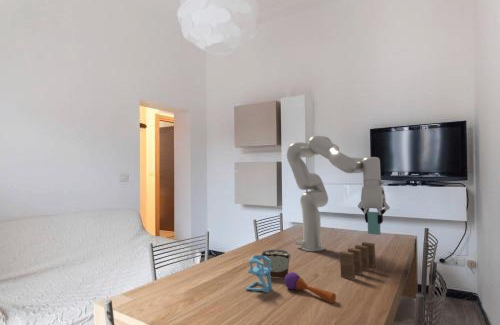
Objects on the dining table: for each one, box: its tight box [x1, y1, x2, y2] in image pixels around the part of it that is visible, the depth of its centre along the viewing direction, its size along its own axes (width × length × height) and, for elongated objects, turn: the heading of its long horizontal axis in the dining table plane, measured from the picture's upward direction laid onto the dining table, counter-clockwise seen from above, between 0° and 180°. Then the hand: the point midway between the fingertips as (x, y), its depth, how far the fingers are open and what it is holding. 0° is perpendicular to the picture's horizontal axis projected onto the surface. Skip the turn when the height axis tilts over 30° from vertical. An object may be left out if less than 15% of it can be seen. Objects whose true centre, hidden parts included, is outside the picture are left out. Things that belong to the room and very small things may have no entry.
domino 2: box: [347, 247, 363, 276], centre depth 122 cm, size 2×5×10 cm, turn 44°
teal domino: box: [367, 211, 382, 236], centre depth 136 cm, size 2×5×10 cm, turn 44°
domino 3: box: [354, 244, 370, 272], centre depth 127 cm, size 2×5×10 cm, turn 44°
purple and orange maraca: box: [283, 271, 337, 304], centre depth 103 cm, size 6×6×20 cm
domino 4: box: [361, 241, 377, 268], centre depth 131 cm, size 2×5×10 cm, turn 44°
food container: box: [261, 249, 292, 279], centre depth 122 cm, size 12×6×10 cm, turn 71°
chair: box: [245, 254, 273, 293], centre depth 109 cm, size 8×8×12 cm
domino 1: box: [339, 250, 356, 281], centre depth 118 cm, size 2×5×10 cm, turn 44°
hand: (373, 222), depth 136 cm, fingers closed on teal domino, 4 cm apart
